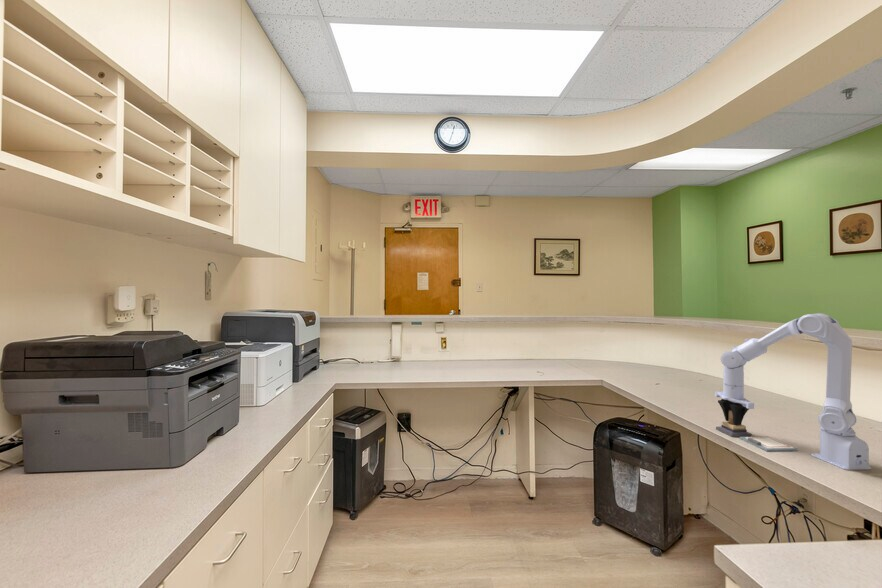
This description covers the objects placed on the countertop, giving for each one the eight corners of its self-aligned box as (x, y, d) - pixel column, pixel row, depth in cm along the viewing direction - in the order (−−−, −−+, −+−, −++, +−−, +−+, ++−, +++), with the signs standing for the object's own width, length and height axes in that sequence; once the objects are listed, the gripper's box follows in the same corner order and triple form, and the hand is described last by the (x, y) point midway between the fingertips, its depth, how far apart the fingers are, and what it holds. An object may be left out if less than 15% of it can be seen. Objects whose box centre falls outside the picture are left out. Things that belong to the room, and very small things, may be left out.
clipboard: (797, 450, 116) (797, 446, 116) (766, 451, 116) (766, 446, 116) (768, 438, 126) (768, 434, 126) (739, 438, 126) (739, 434, 126)
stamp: (746, 432, 128) (746, 413, 128) (732, 432, 128) (732, 413, 128) (734, 426, 133) (734, 408, 133) (721, 426, 133) (721, 409, 133)
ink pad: (751, 436, 127) (751, 433, 127) (731, 436, 127) (731, 433, 127) (734, 429, 134) (734, 425, 134) (716, 429, 134) (716, 426, 134)
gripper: (706, 379, 138) (706, 415, 138) (739, 390, 123) (739, 430, 123) (725, 379, 138) (725, 415, 138) (760, 390, 123) (759, 430, 123)
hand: (733, 422), depth 131 cm, fingers closed on stamp, 3 cm apart
